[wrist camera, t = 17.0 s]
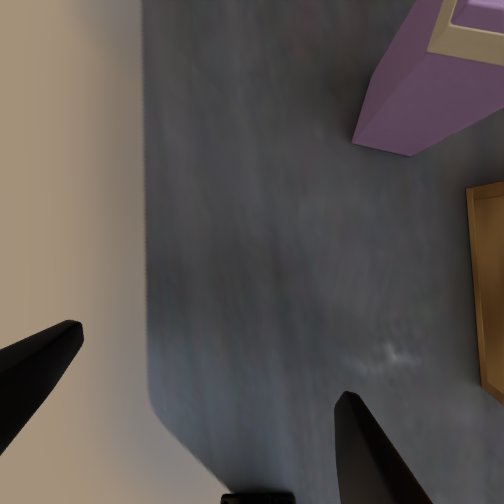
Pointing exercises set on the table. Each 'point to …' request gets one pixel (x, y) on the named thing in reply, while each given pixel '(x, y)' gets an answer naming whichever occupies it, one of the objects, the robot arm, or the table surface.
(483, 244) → the wooden tray
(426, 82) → the chocolate box
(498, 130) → the table surface
